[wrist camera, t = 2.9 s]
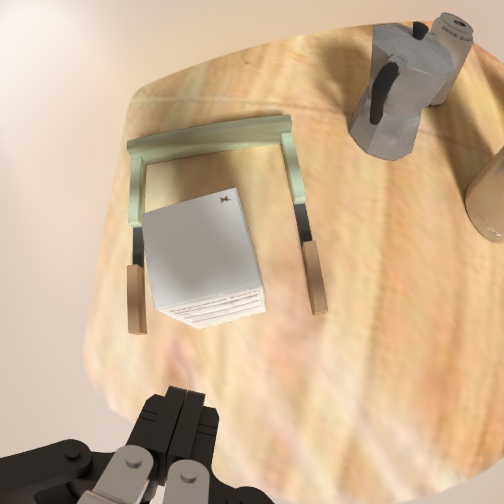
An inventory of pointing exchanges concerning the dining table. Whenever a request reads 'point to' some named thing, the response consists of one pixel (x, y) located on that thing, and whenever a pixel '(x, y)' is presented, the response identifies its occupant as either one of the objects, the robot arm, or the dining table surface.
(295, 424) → the dining table surface
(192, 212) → the supplement box
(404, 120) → the coffeepot
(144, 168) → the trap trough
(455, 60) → the energy drink can
